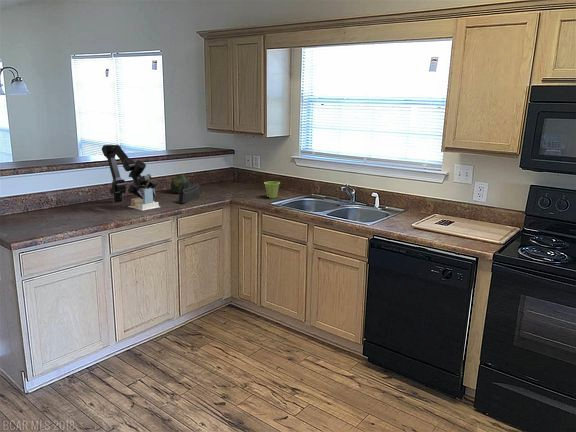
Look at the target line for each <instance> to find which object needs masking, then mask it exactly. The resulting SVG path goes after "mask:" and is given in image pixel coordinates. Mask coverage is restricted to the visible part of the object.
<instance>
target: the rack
mask: <svg viewBox="0 0 576 432" xmlns="http://www.w3.org/2000/svg"><path fill="white" fill-rule="evenodd" d="M127 208H132V209H135V210H140V211H146V210H152V209H157V208H161V205H159V202H158V201H154V200H153V203H149V204H144V205H143V203H140V204H138V208H137V207H133V206H131V205H128V206H127Z"/></svg>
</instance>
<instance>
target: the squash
mask: <svg viewBox="0 0 576 432" xmlns="http://www.w3.org/2000/svg"><path fill="white" fill-rule="evenodd" d="M190 187H191V183H190V179H188V177H187V176H186V174H184V173H181V174H179V175H177V176H176V177H173V178H172V180H171V181H170V190H171V191H172V192H173V193H174V194H179V192H180V190H181V189H187V188H190Z"/></svg>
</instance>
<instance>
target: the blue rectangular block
mask: <svg viewBox="0 0 576 432" xmlns="http://www.w3.org/2000/svg"><path fill="white" fill-rule="evenodd" d="M142 196H143V205H144V204H149V203H153V201H154V196H153V189H152V188H149V189H148V188H143V189H142Z"/></svg>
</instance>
